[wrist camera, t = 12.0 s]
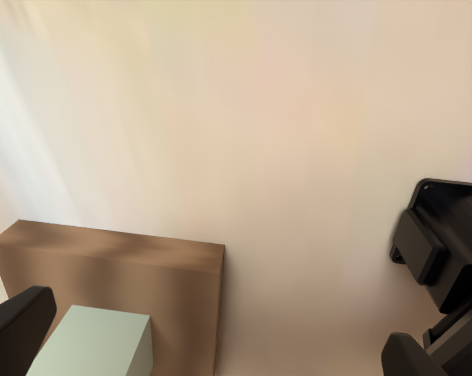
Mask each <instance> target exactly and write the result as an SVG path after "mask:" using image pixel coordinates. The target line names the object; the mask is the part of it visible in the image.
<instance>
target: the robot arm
mask: <svg viewBox="0 0 472 376" xmlns="http://www.w3.org/2000/svg"><path fill="white" fill-rule="evenodd" d="M427 185H430V187H429V188H427V189H424V188H425V186H427ZM394 242H395V243H394V245H393V248H392V250H391V253H390V257H391V259H392V261H393V262H395V263H399V264H407V266H408V267H409V269H410V271H411V273H412V275H413V276H414V278H415V280H416V281H417V283H418V284H419V285H423V286H425V287H426V289H427V291H428V292H429V294H430V296H431V298H432V299H433V301H434V303H435V304H436V306H437V308H438V310H439V311H440V313H443V314H447V315H446V316H445V317H444V318H443V319H442V320H441V321H440V322H439V323H438V324H437V325H435V326H434V327H433V328H432V329H428V330H427V331H426V332H425V333H424V334H423V343H424V349H423V348H422V347H421V346H420V345H419V344H418V343H417V342H416V341H415V340H414V339H413V338H412V337H411V336H410V335H408V334H404V333H397V332H393V333H391V334H390V336H389V338H388V340H387V342H386V344H385V346H384V348H383V351H382V354H381V361H382V367H383V373H384V376H472V183H468V182H459V181H450V180H440V179H431V178H425V179H423V180H421V181H420V182H419V183H418V185H417V187H416V190H415V192H414V195H413V197H412V200H411V202H410V205H409V207H408V208H407V209H406V210H405V212H404V214H403V217H402V219H401V222H400V224H399V227H398V229H397V232H396V234H395V237H394ZM398 255H400V256H399V257H396V256H398ZM56 313H57V305H56V301H55V298H54V294H53V290H52V288H51V287H49V286H43V285H33V286H31V287H29V288H27V289H26V290H24V291H22V292H21V293H19V294H17V295H15V296H14V297H12V298H10V299H8V300H7V301H5V302H3V303H1V304H0V376H26V374H27V373H28V371H29V369H30V367H31V365H32V363H33V361H34V359H35V357H36V355H37V353H38V351H39V349H40V347H41V345H42V343H43V341H44V339H45V337H46V335H47V332H48V330H49V328H50V326H51V324H52V322H53V320H54V318H55V316H56Z"/></svg>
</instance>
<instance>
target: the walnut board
mask: <svg viewBox="0 0 472 376" xmlns="http://www.w3.org/2000/svg"><path fill="white" fill-rule="evenodd" d="M223 258H224V245H220V244H212V243H204V242H196V241H188V240H180V239H172V238H164V237H156V236H147V235H139V234H131V233H123V232H115V231H107V230H99V229H91V228H83V227H75V226H66V225H58V224H50V223H42V222H34V221H26V220H18V221H17V222H15V223H14V224H13V225H12V226H10V227H9V228H8V229H7V230H5V231H4V232H3V233H2V234H0V276H1V279H2V282H3V284H4V287H5V290H6V292H7V295H8V298H9V299H10V298H12V297H14V296H15V295H17V294H19V293H21V292H22V291H24V290H26V289H27V288H29V287H31V286H33V285H43V286H49V287H51V288H52V290H53V294H54V298H55V301H56V305H57V313H56V316H55V318H54V320H53V322H52V324H51V326H50V328H49V330H48V332H47V335H46V337H45V339H44V341H43V343H42V345H41V347H40V349H39V351H38V353H39V352H40V350H41V349H42V348H43V346H44V345H45V343H46V342H47V340H48V339H49V338H50V336H51V335H52V333H53V332H54V330H55V329H56V327H57V326H58V325H59V323H60V322H61V320H62V319H63V317H64V316H65V314H66V313H67V312H68V310H69V309H70V307H71V306H72V305H77V306H84V307H92V308H99V309H106V310H113V311H121V312H128V313H135V314H143V315H150V324H151V338H152V351H153V367H152V370H151V373H150V376H214V374H215V363H216V350H217V337H218V324H219V310H220V297H221V284H222V271H223ZM38 353H37V355H38ZM37 355H36V356H37ZM35 358H36V357H35Z"/></svg>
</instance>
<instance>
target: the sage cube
mask: <svg viewBox="0 0 472 376" xmlns="http://www.w3.org/2000/svg"><path fill="white" fill-rule="evenodd" d="M152 367H153V351H152V338H151V324H150V315H143V314H135V313H128V312H121V311H113V310H106V309H99V308H92V307H84V306H77V305H72V306H71V307H70V309H69V310H68V312H67V313H66V314H65V316H64V317H63V319H62V320H61V322H60V323H59V325H58V326H57V327H56V329H55V330H54V332H53V333H52V335H51V336H50V338H49V339H48V340H47V342H46V343H45V345H44V346H43V348H42V349H41V350H40V352H39V353H38V355H37V356H36V358H35V359H34V361H33V363H32V365H31V367H30V369H29V371H28V373H27V374H26V376H150V373H151V370H152Z"/></svg>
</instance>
